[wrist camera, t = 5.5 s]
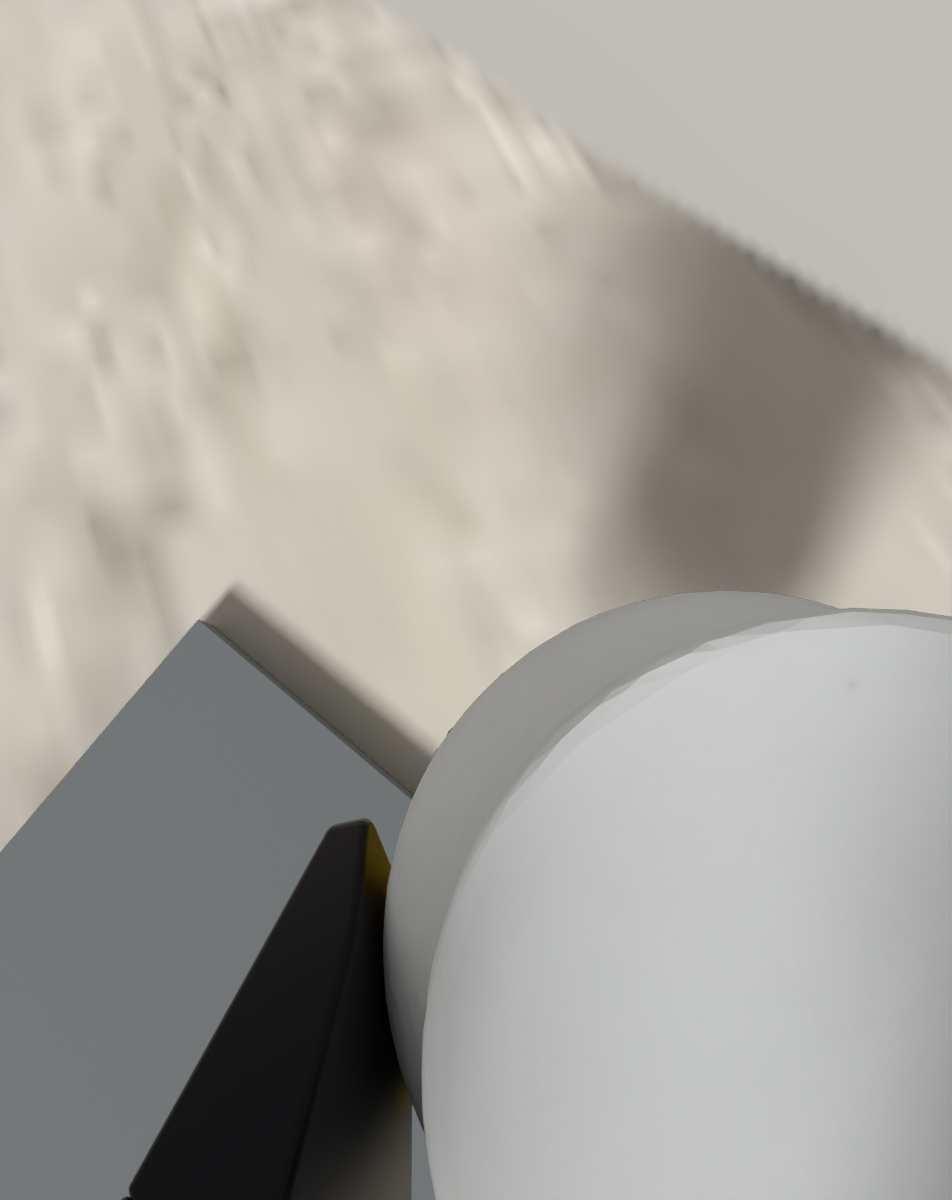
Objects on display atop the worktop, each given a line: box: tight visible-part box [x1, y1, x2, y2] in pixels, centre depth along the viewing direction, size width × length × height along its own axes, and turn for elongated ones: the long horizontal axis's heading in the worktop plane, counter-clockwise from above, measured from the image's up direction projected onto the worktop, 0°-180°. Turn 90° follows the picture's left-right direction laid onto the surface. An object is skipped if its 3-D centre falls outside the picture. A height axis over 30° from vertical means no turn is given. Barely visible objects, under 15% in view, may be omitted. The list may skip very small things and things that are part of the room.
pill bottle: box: [383, 591, 952, 1200], centre depth 9 cm, size 6×6×11 cm
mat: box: [0, 620, 435, 1200], centre depth 20 cm, size 16×14×1 cm
